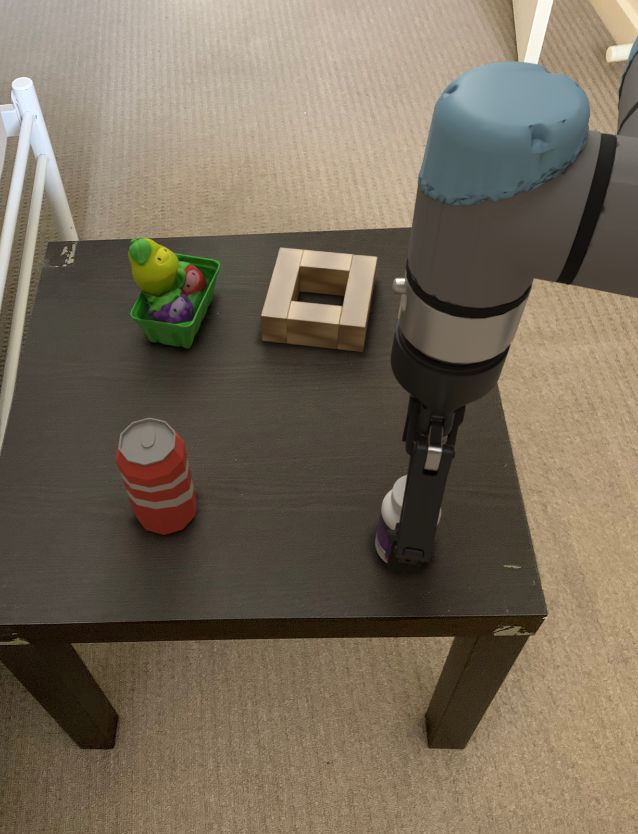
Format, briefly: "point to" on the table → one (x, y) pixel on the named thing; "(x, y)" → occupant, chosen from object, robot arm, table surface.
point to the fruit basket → (170, 292)
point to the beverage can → (156, 475)
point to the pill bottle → (391, 517)
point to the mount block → (319, 321)
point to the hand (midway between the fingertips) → (410, 501)
